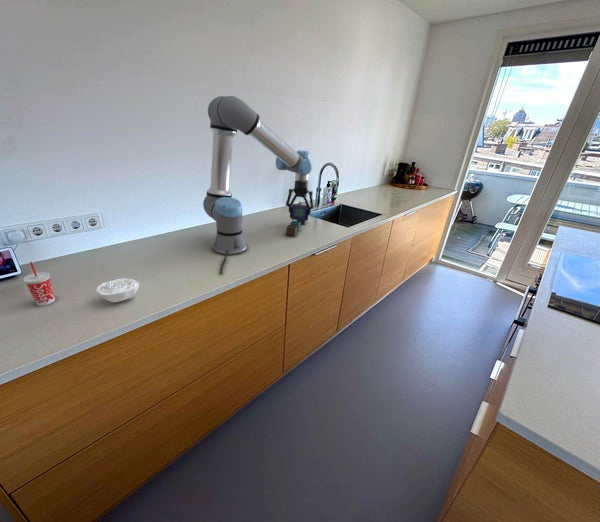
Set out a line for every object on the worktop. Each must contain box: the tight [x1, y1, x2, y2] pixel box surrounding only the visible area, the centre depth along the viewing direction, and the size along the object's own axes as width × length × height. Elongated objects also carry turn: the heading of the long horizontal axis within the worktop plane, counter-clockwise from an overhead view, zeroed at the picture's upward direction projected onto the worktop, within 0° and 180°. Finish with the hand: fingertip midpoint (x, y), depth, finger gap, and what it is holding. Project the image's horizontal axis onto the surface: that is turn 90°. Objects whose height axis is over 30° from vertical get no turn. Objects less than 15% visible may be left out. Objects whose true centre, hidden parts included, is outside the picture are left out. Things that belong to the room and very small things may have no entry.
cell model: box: [96, 277, 140, 304], centre depth 94 cm, size 10×12×7 cm
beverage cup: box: [22, 261, 56, 307], centre depth 88 cm, size 6×6×14 cm
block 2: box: [285, 224, 298, 238], centre depth 158 cm, size 5×5×5 cm
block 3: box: [296, 220, 307, 226], centre depth 178 cm, size 5×5×5 cm
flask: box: [290, 201, 308, 221], centre depth 168 cm, size 9×3×11 cm, turn 88°
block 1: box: [289, 220, 302, 234], centre depth 165 cm, size 5×5×5 cm
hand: (299, 218), depth 171 cm, fingers closed on flask, 9 cm apart
